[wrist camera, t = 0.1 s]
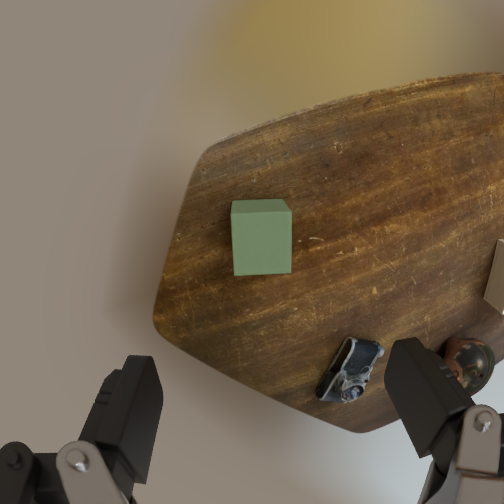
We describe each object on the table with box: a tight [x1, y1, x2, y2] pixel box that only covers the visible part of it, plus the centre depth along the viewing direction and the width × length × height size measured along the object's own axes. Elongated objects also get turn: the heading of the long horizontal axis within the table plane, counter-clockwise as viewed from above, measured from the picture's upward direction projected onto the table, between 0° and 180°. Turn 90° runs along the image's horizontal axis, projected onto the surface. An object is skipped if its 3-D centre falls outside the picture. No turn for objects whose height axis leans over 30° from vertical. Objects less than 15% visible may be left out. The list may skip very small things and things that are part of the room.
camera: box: [316, 337, 384, 403], centre depth 32 cm, size 5×10×4 cm, turn 162°
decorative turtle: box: [443, 337, 495, 397], centre depth 32 cm, size 10×15×8 cm, turn 81°
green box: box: [230, 199, 292, 276], centre depth 25 cm, size 5×4×5 cm
